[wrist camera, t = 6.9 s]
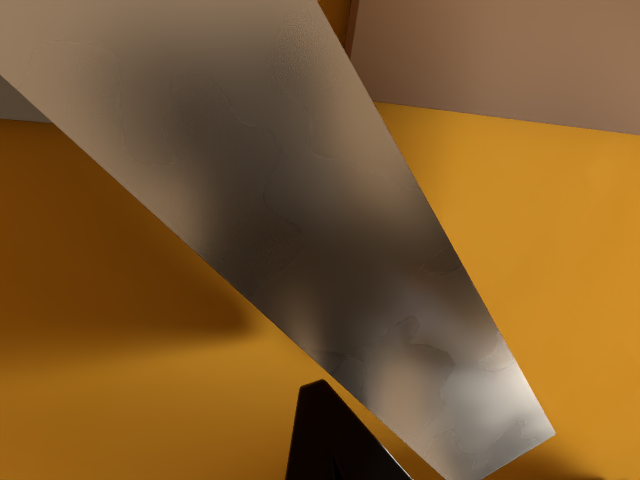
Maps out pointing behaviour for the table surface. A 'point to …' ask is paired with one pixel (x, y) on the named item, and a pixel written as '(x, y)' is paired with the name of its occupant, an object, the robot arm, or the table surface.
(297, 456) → the robot arm
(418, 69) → the door board
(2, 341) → the table surface
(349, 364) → the latch bar
